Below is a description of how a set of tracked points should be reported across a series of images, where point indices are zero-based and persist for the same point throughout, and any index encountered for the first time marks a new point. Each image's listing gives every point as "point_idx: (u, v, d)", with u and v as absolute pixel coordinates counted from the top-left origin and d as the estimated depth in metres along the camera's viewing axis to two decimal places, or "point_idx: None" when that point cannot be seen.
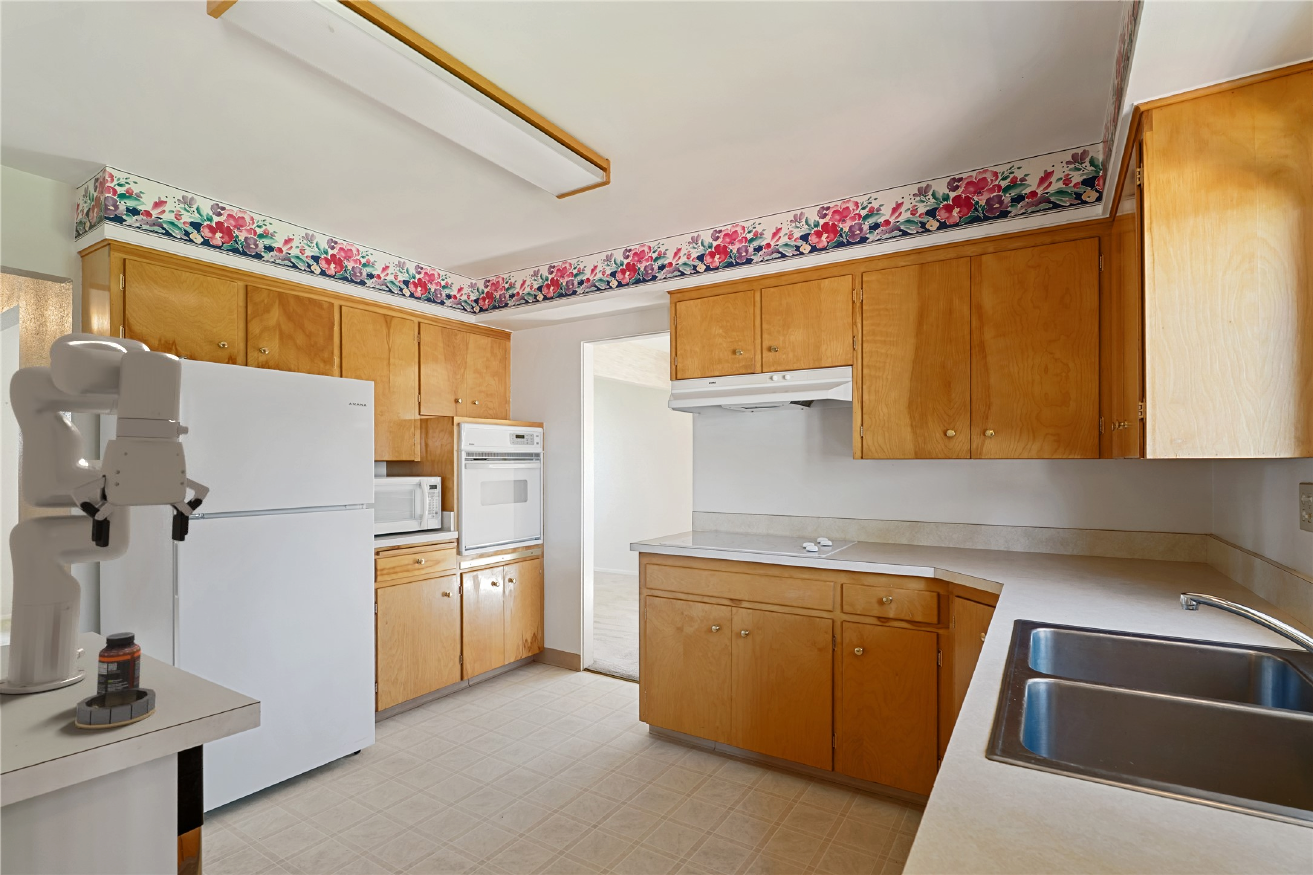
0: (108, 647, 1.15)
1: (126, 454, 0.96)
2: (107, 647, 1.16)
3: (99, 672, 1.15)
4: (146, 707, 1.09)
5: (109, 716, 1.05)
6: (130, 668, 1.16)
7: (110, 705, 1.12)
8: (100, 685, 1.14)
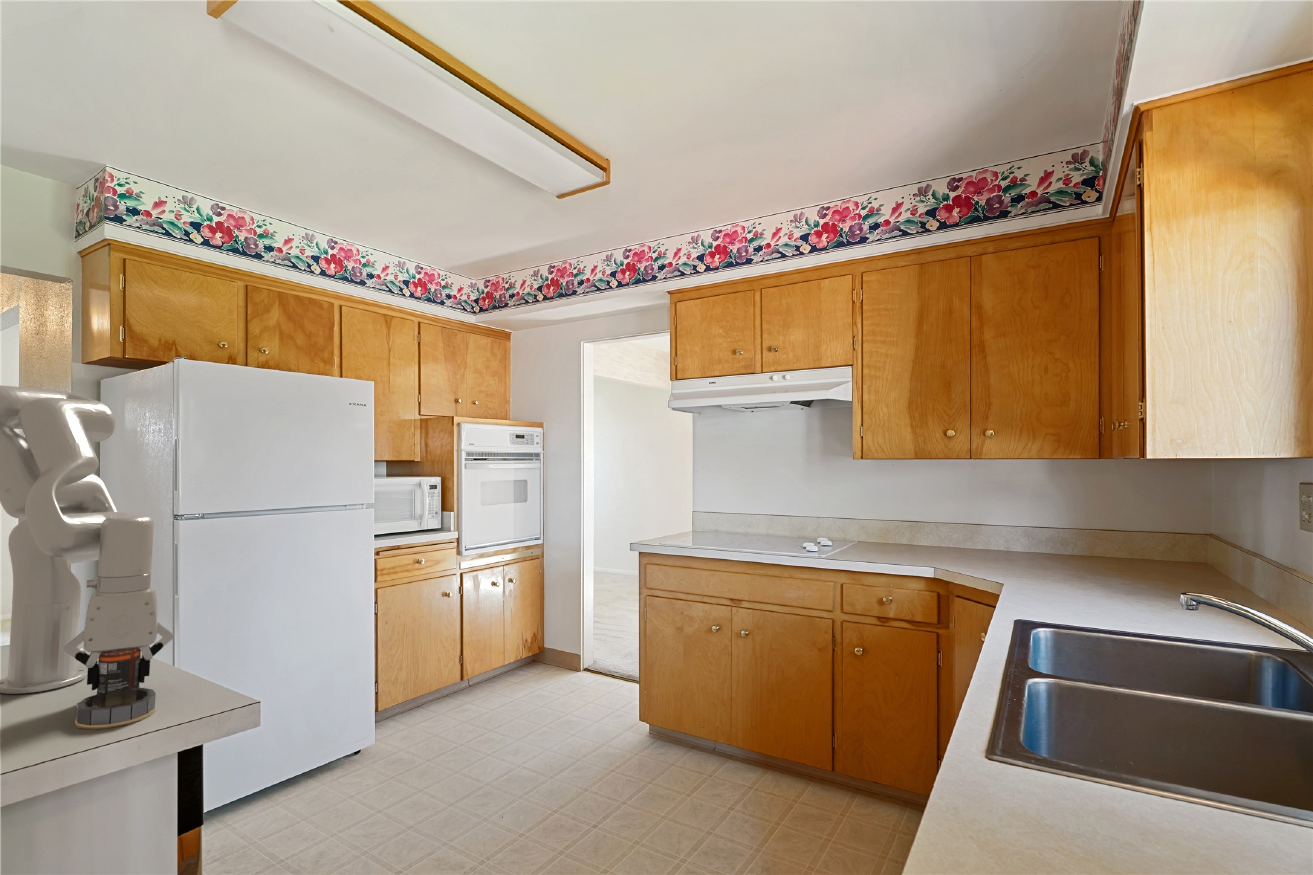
0: None
1: None
2: None
3: (99, 672, 1.15)
4: (146, 707, 1.09)
5: (109, 716, 1.05)
6: (130, 668, 1.16)
7: (110, 705, 1.12)
8: (100, 685, 1.14)
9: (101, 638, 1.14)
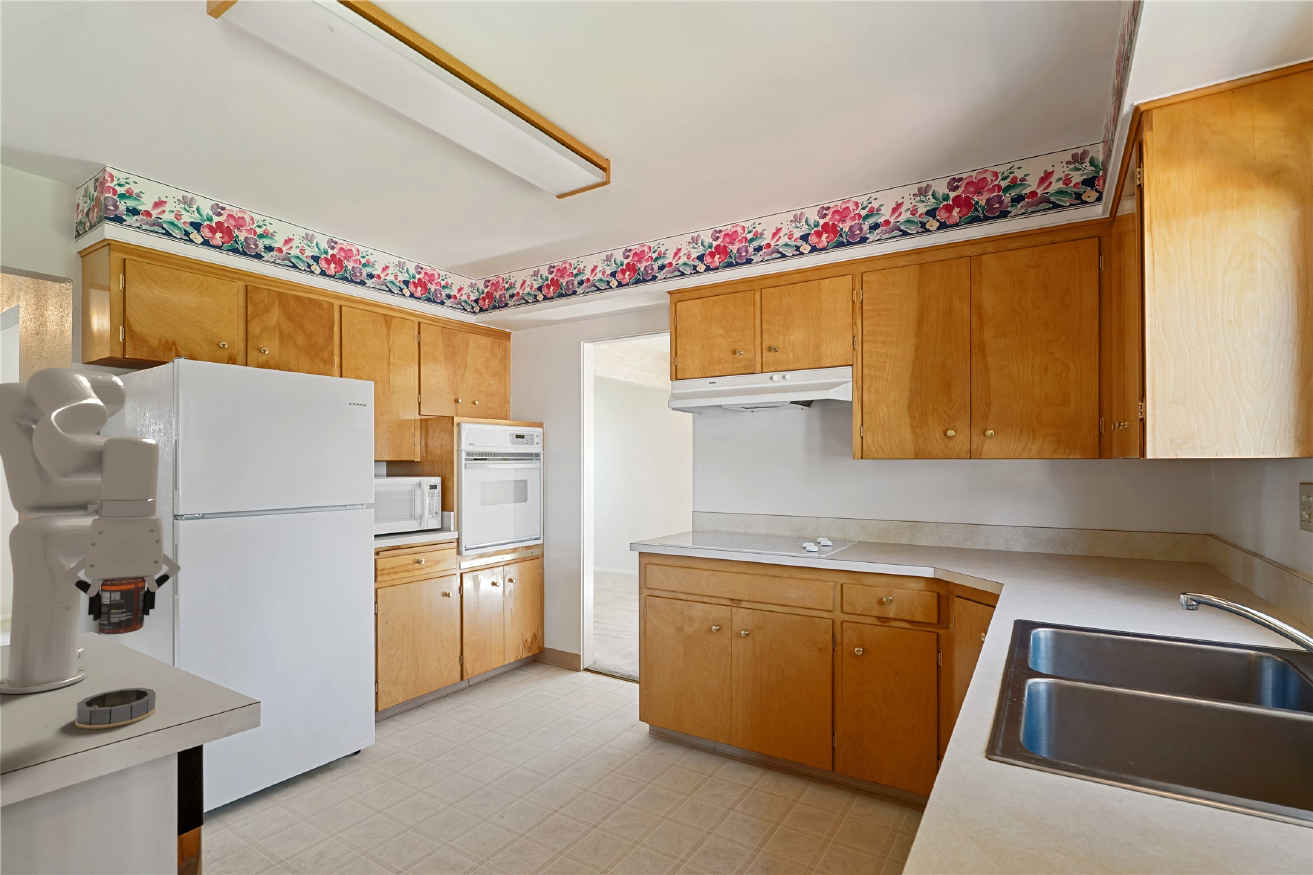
0: None
1: None
2: None
3: (101, 602, 1.07)
4: (146, 707, 1.09)
5: (109, 716, 1.05)
6: (134, 598, 1.09)
7: (110, 705, 1.12)
8: (102, 616, 1.07)
9: (103, 565, 1.06)
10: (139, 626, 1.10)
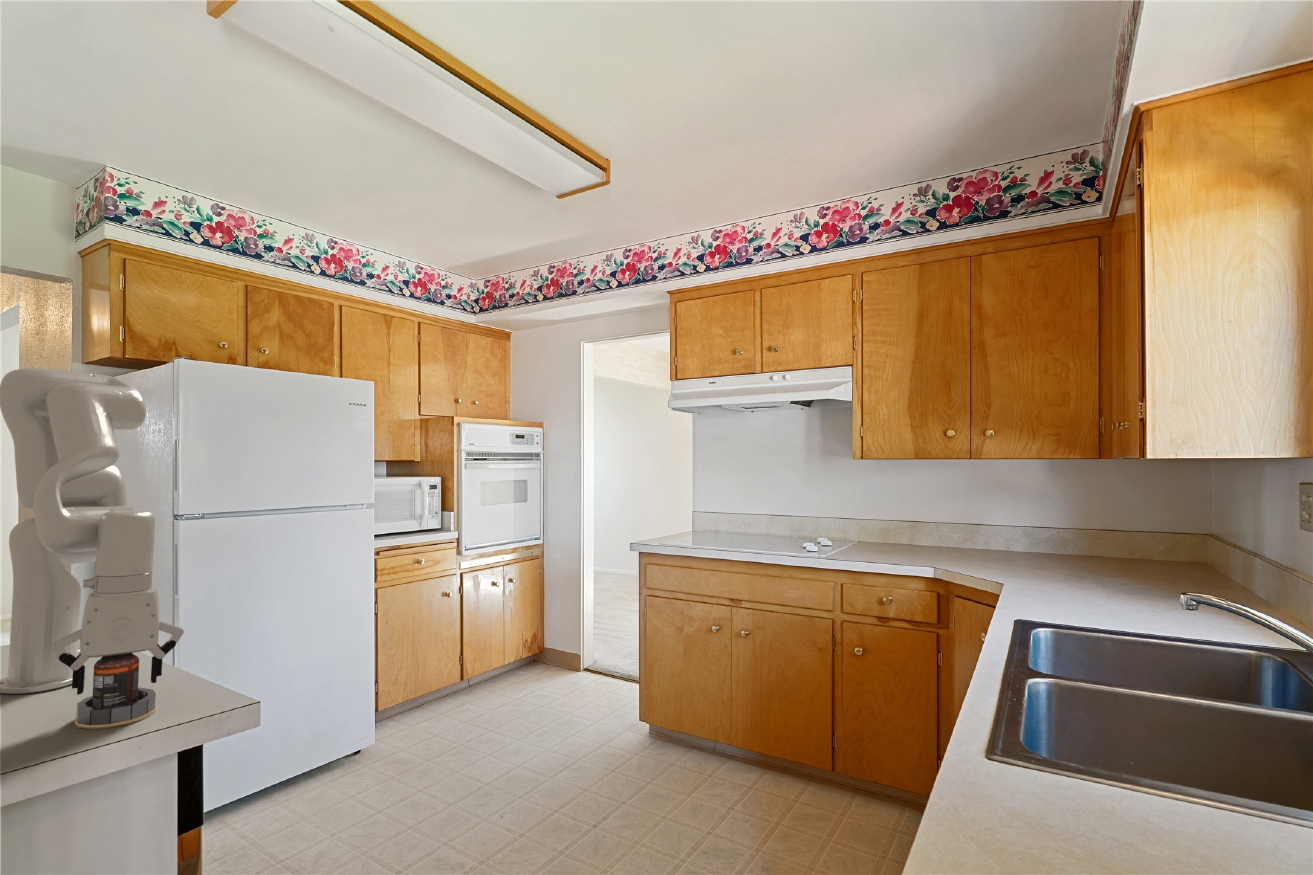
0: (104, 659, 1.07)
1: None
2: (103, 658, 1.07)
3: (94, 685, 1.07)
4: (146, 707, 1.09)
5: (109, 716, 1.05)
6: (128, 681, 1.08)
7: None
8: (96, 700, 1.06)
9: (99, 642, 1.06)
10: None
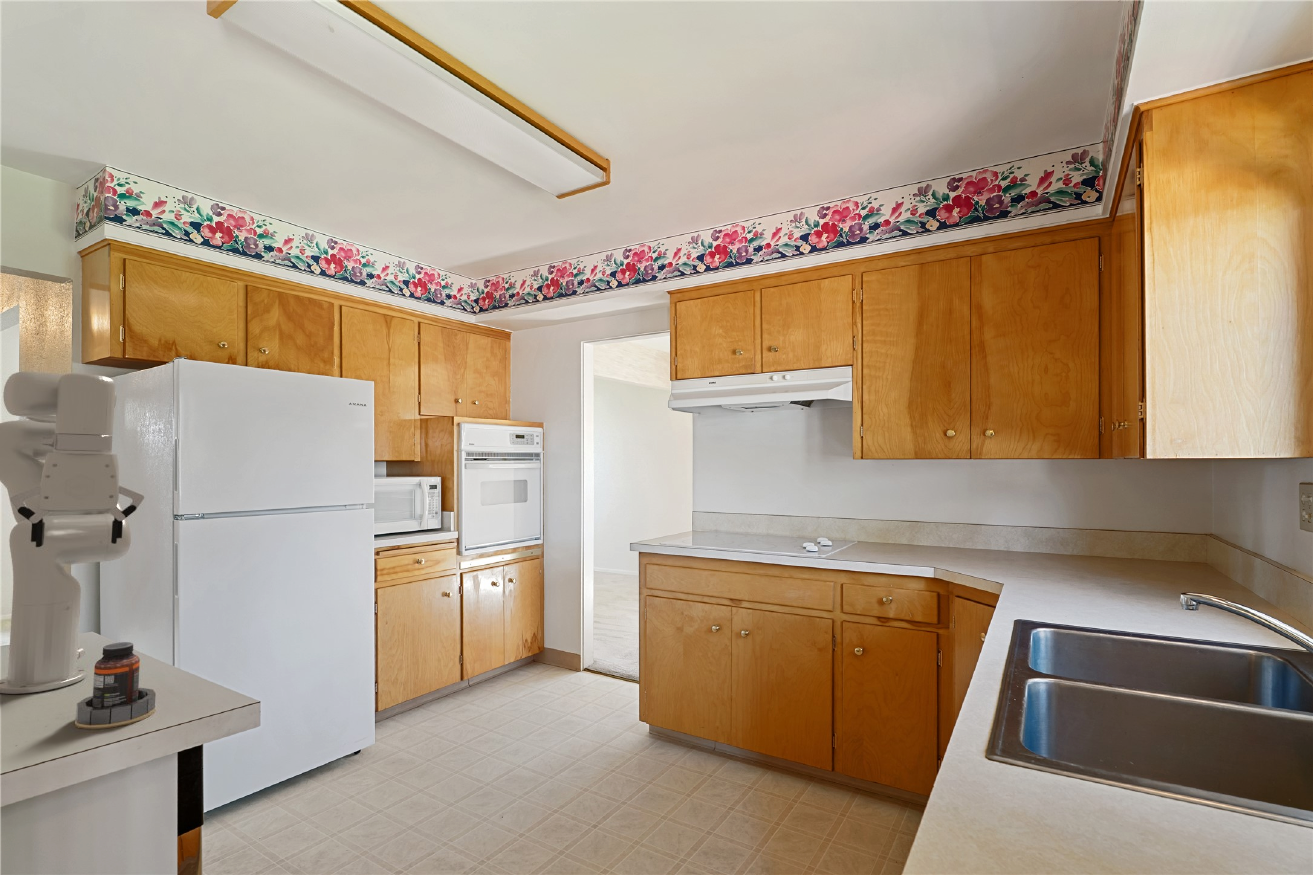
0: (105, 658, 1.07)
1: None
2: (104, 658, 1.08)
3: (95, 685, 1.07)
4: (146, 707, 1.09)
5: (109, 716, 1.05)
6: (128, 681, 1.08)
7: None
8: (96, 700, 1.06)
9: (58, 497, 1.08)
10: None
